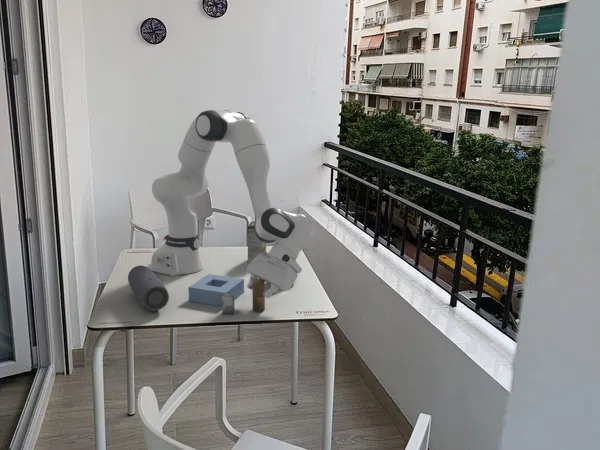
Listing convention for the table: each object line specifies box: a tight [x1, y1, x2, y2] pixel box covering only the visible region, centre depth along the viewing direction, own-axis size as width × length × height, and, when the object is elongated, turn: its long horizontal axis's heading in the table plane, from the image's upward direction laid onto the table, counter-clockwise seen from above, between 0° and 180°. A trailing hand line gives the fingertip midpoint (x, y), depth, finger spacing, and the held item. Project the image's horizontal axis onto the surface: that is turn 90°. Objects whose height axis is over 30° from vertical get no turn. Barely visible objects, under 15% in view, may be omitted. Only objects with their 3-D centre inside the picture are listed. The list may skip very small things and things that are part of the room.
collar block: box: [187, 273, 245, 307], centre depth 179 cm, size 14×14×5 cm
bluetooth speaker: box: [127, 265, 170, 311], centre depth 173 cm, size 23×9×10 cm, turn 30°
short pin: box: [221, 293, 236, 316], centre depth 165 cm, size 4×4×6 cm
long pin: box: [251, 279, 266, 313], centre depth 168 cm, size 4×4×10 cm
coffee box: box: [247, 221, 267, 265], centre depth 216 cm, size 9×6×16 cm
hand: (257, 292), depth 167 cm, fingers open, 8 cm apart
